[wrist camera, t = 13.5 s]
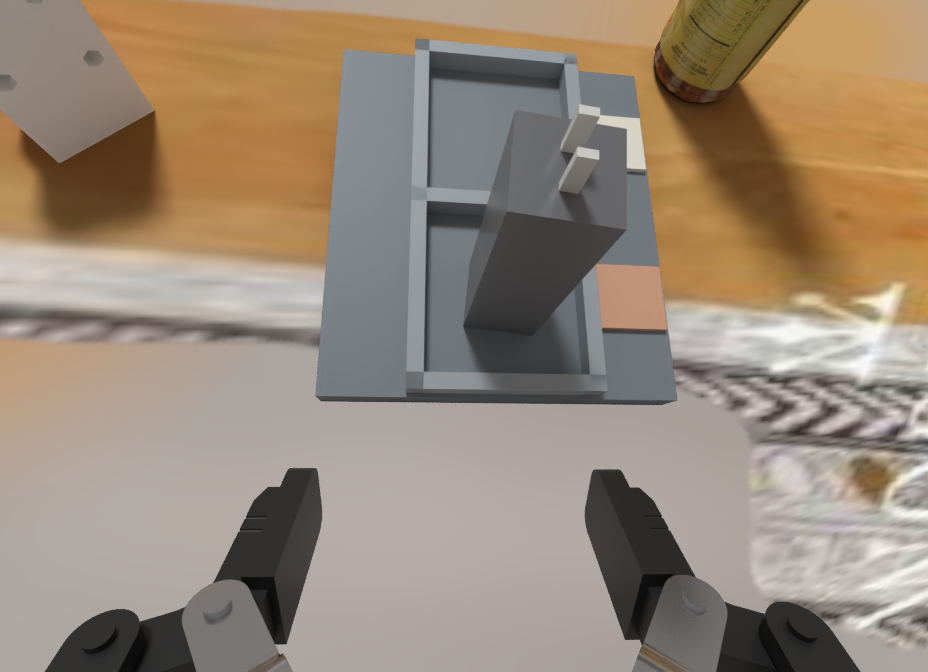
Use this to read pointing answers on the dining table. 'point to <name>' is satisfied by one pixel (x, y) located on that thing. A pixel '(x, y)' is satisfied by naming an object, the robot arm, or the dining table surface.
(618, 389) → the grey tray
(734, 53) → the sauce bottle
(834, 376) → the dining table surface
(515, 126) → the plug
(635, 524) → the robot arm
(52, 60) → the white wedge bracket
